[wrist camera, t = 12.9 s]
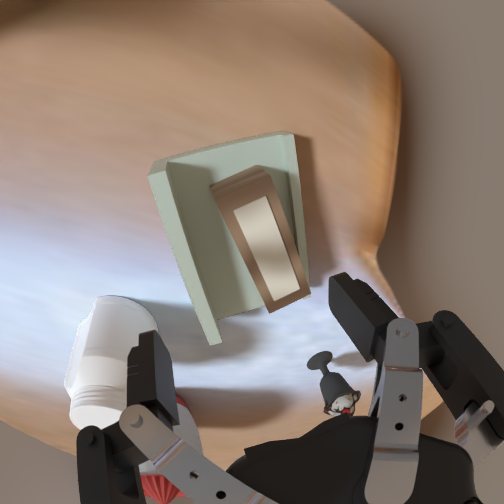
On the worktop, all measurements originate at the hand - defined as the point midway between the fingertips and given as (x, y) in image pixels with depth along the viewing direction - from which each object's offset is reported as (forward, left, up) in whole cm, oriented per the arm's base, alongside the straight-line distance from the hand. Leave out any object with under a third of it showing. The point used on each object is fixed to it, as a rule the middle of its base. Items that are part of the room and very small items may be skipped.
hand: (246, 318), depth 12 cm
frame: (+4, -6, -18) cm, 19 cm away
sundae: (+12, -35, -20) cm, 42 cm away
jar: (-16, -15, -20) cm, 30 cm away
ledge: (+3, -6, -20) cm, 21 cm away
